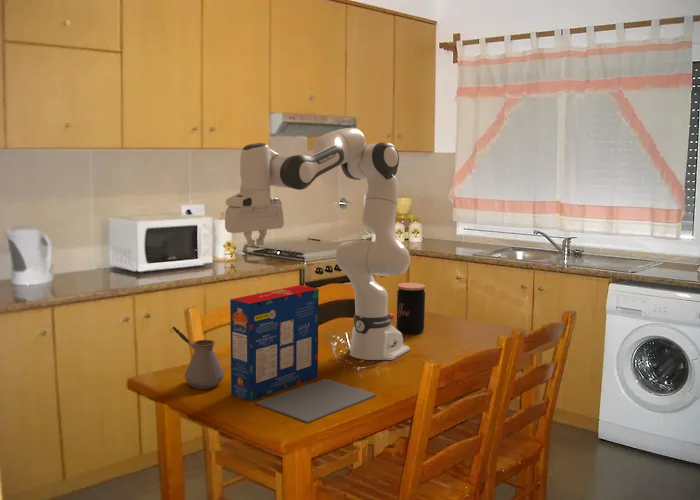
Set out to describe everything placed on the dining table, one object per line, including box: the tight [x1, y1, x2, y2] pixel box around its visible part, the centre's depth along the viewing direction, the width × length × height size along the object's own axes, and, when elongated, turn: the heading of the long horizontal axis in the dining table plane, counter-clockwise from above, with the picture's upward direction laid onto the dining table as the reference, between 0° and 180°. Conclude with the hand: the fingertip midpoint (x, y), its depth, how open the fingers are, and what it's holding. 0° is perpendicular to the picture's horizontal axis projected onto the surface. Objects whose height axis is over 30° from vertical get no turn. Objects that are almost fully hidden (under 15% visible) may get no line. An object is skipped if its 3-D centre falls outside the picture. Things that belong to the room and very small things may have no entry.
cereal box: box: [229, 284, 320, 402], centre depth 211 cm, size 28×8×28 cm, turn 140°
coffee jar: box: [395, 282, 426, 335], centre depth 277 cm, size 11×11×18 cm
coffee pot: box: [169, 326, 225, 390], centre depth 215 cm, size 21×12×15 cm, turn 49°
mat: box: [255, 378, 377, 424], centre depth 202 cm, size 28×20×1 cm
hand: (255, 245), depth 213 cm, fingers open, 2 cm apart
